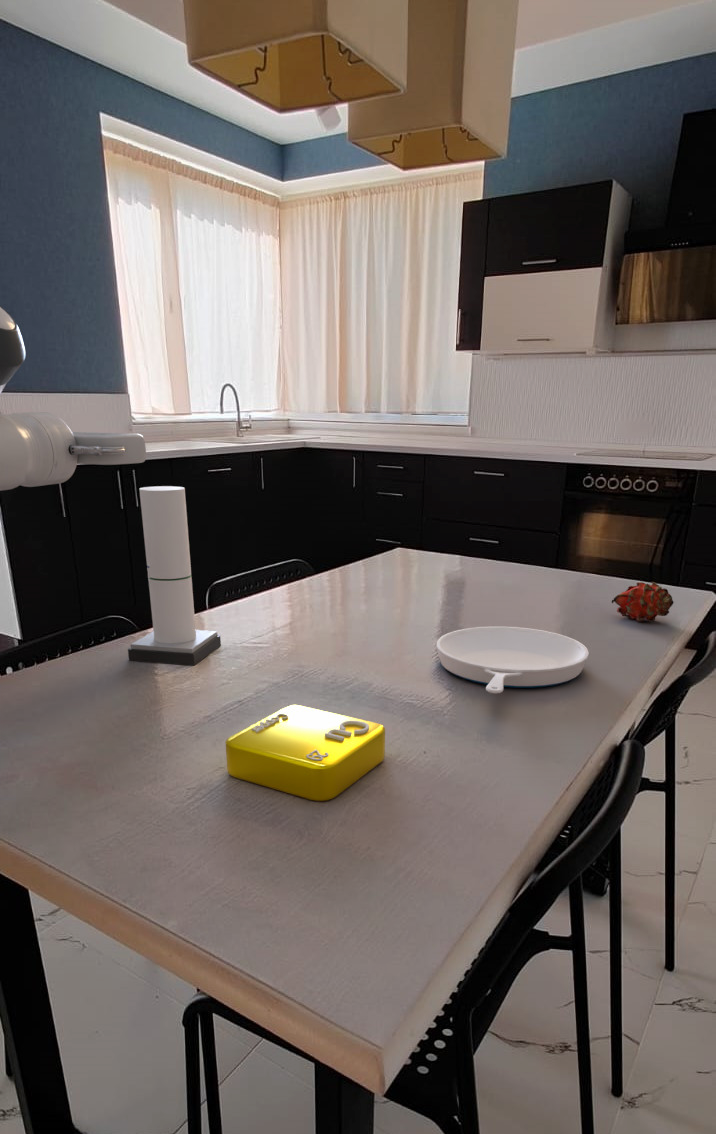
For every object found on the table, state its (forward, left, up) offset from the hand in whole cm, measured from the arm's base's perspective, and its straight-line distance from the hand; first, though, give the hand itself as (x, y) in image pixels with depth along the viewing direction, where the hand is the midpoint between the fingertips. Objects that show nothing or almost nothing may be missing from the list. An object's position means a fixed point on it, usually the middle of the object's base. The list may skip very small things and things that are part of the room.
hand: (109, 444), depth 112 cm
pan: (+59, +11, -35) cm, 70 cm away
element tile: (+37, -27, -35) cm, 58 cm away
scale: (+2, +12, -35) cm, 37 cm away
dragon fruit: (+85, +56, -35) cm, 107 cm away
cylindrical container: (+2, +12, -32) cm, 34 cm away
